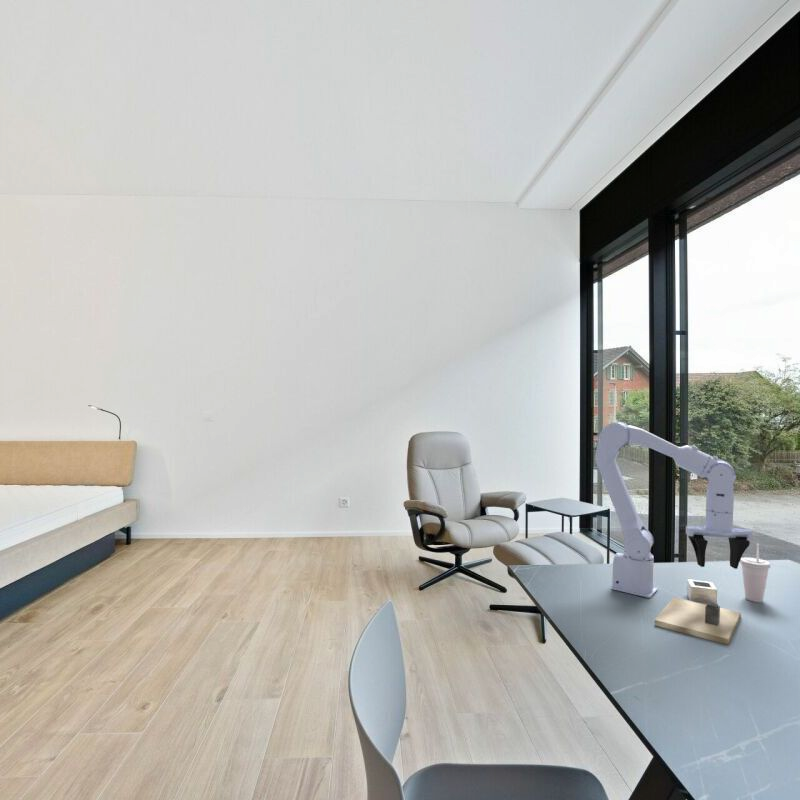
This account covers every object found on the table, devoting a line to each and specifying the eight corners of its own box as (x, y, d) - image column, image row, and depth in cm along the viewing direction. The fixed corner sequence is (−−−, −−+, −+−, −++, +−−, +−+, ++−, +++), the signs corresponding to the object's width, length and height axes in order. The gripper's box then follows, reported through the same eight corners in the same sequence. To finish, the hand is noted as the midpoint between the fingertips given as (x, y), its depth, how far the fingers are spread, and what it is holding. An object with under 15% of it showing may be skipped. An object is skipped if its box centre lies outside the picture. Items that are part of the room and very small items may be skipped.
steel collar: (690, 602, 132) (691, 586, 132) (686, 594, 137) (687, 579, 137) (716, 606, 130) (717, 589, 130) (711, 597, 135) (712, 582, 135)
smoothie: (774, 605, 131) (775, 548, 131) (745, 602, 132) (746, 546, 132) (762, 595, 137) (763, 541, 137) (734, 593, 139) (736, 539, 138)
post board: (654, 625, 118) (655, 601, 118) (673, 601, 132) (674, 580, 132) (728, 644, 109) (729, 619, 109) (740, 617, 123) (741, 595, 123)
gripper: (695, 513, 127) (693, 570, 127) (760, 516, 126) (758, 573, 126) (682, 506, 134) (680, 560, 134) (743, 509, 133) (741, 564, 133)
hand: (717, 566), depth 130 cm, fingers open, 7 cm apart
